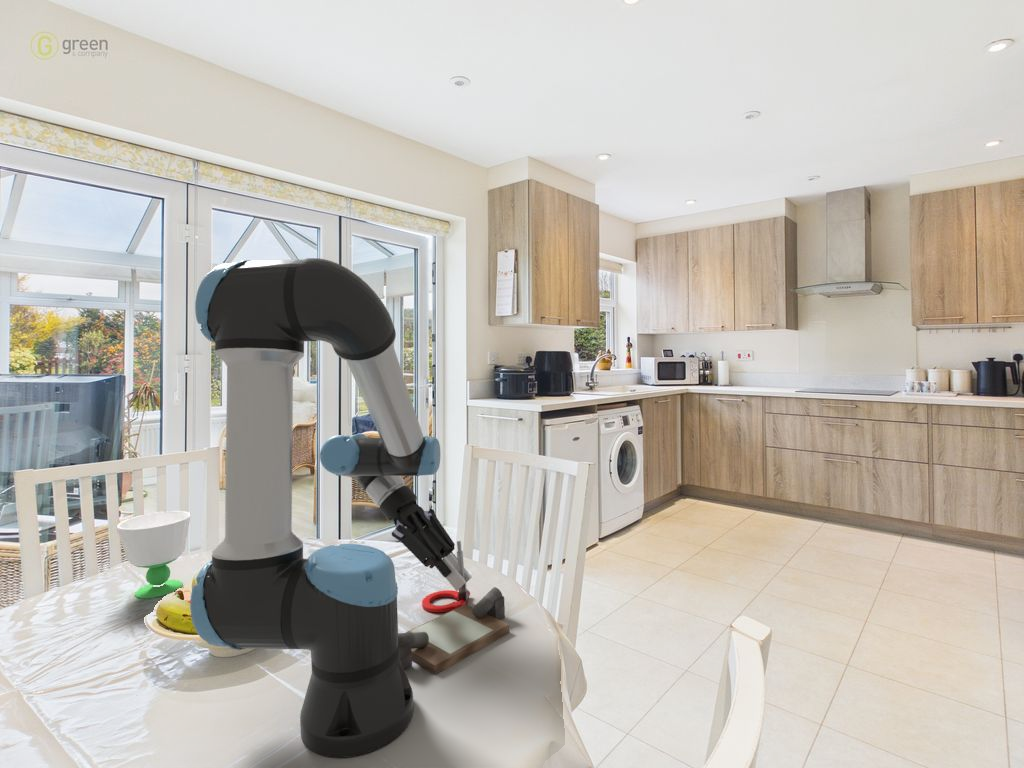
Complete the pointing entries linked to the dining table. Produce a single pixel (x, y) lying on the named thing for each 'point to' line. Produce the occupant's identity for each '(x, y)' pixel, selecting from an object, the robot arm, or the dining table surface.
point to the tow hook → (449, 591)
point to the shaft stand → (454, 634)
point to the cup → (155, 547)
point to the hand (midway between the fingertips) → (464, 584)
